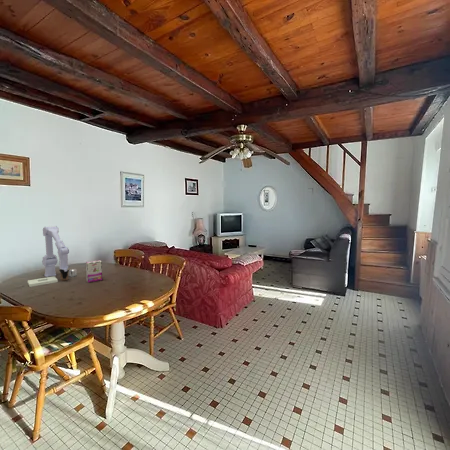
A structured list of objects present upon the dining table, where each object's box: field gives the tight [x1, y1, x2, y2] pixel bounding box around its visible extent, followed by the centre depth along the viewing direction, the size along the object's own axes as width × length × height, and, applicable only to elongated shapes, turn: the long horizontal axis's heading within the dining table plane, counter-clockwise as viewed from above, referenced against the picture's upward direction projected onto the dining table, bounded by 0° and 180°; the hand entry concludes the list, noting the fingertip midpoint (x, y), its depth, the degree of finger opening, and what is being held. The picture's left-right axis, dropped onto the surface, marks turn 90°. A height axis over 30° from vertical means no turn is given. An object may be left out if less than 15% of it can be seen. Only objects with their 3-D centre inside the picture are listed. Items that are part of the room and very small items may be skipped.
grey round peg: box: [68, 268, 78, 278], centre depth 212 cm, size 6×6×6 cm
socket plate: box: [27, 275, 59, 288], centre depth 194 cm, size 12×18×2 cm, turn 135°
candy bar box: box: [85, 259, 103, 283], centre depth 201 cm, size 11×5×16 cm, turn 129°
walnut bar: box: [59, 272, 69, 282], centre depth 201 cm, size 3×5×6 cm, turn 135°
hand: (64, 278), depth 201 cm, fingers closed on walnut bar, 3 cm apart
